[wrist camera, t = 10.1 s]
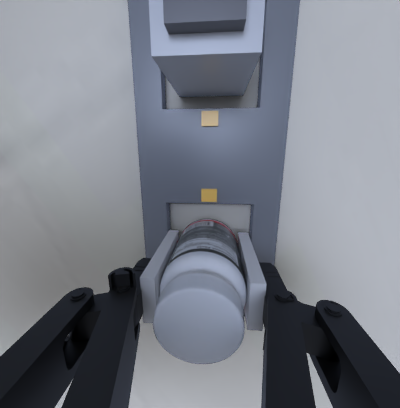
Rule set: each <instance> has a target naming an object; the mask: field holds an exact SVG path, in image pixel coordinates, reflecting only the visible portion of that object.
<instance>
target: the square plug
mask: <svg viewBox="0 0 400 408" xmlns="http://www.w3.org/2000/svg"><path fill="white" fill-rule="evenodd" d="M264 10H265V0H149V17H150V38H151V56H152V58H153V59H154V61H155V62H156V64H157V65H158V67H159V68H160V69H161V71H162V72H163V74H164V75H165V77H166V78H167V79H168V81H169V82H170V84H171V85H172V87H173V88H174V89H175V91H176V92H177V94H178V95H179V97H197V96H243V94H244V92H245V89H246V87H247V85H248V83H249V80H250V78H251V76H252V73H253V71H254V69H255V67H256V64H257V62H258V60H259V57H260V55H261V53H262V41H263V26H264Z"/></svg>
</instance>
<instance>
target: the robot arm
mask: <svg viewBox="0 0 400 408" xmlns="http://www.w3.org/2000/svg"><path fill="white" fill-rule="evenodd" d="M178 241H179V230H169V231H168V233H167V235H166V236H165V238H164V239H163V241H162V243H161V244H160V246H159V247H158V249H157V251H156V252H155V254H154V255H153V257H152V258H143V259H141V260H140V261H138V262H137V264H136V265H135V267H134V268H133V269H132V268H129V267H124V268H119V269H116V270H114V271H112V272H111V273H110V274H109V275H108V279H109V287H110V291H109V292H108V293H103V294H97V295H93V290H92V289H91V288H87V287H84V288H78V289H75V290H73V291H71V292H69V293H68V294H66V295H65V296H64V297H63V298H62V299H61V300H60V301H59V302H58V303H57V304H56V305H55V306H54V307H53V308H51V309H50V310H49V311H48V312H47V313H46V314H45V315H44V316H43V317H42V318H41V319H40V320H39V321H38V322H37V323H36V324H34V325H33V326H32V327H31V328H30V329H29V330H28V331H27V332H26V333H25V334H24V335H23V336H22V337H21V338H20V339H19V340H17V341H16V342H15V343H14V344H13V345H12V346H11V347H10V348H9V349H8V350H7V351H6V352H5V353H4V354H3V355H2V356H0V408H55V406H56V404H57V403H58V401H59V400H60V398H61V397H62V395H63V393H64V392H65V390H66V389H67V387H68V386H69V384H70V382H71V381H72V379H73V381H72V383H71V386H70V388H69V390H68V393H67V395H66V398H65V400H64V403H63V405H62V407H61V408H128V405H129V399H130V392H131V385H132V379H133V372H134V365H135V359H136V352H137V345H138V339H139V332H140V323H139V321H140V319H141V317H142V314H143V322H144V323H153V316H154V312H155V309H156V306H157V303H158V300H159V297H160V283H161V279H162V276H163V274H164V271H165V269H166V267H167V265H168V263H169V261H170V259H171V256H172V254H173V252H174V250H175V248H176V245H177V243H178ZM237 244H238V250H239V255H240V260H241V265H242V269H243V274H244V279H245V284H246V292H247V297H246V304H245V307H244V312H245V318H246V324H247V330H260V331H262V330H263V323H264V327H265V334H264V345H263V350H264V355H263V380H262V404H261V408H316V406H315V401H314V395H313V389H312V383H311V377H310V371H309V365H308V360H307V354H306V353H309V354H310V357H311V359H312V362H313V364H314V366H315V368H316V370H317V373H318V375H319V377H320V379H321V382H322V384H323V386H324V388H325V391H326V393H327V395H328V397H329V399H330V402H331V404H332V406H333V408H400V373H399V372H398V371H397V370H396V368H395V367H394V366H393V365H392V364H391V362H390V361H389V360H388V359H387V357H386V356H385V355H384V354H383V353H382V351H381V350H380V349H379V348H378V346H377V345H376V344H375V343H374V342H373V340H372V339H371V338H370V337H369V335H368V334H367V333H366V332H365V331H364V329H363V328H362V327H361V326H360V324H359V323H358V322H357V321H356V320H355V318H354V317H353V316H352V315H351V313H350V312H349V311H348V310H347V309H346V308H345V307H343V306H342V305H340V304H338V303H336V302H333V301H329V300H320V301H319V302H317V304H316V307H314V306H310V305H307V304H303V303H301V302H299V301H297V298H296V296H295V295H294V294H292V293H291V292H289V291H287V289H286V287H285V285H284V283H283V281H282V279H281V277H280V275H279V273H278V271H277V269H276V267H275V266H274V265H272V264H271V263H264V262H258V259H257V256H256V254H255V251H254V248H253V245H252V243H251V240H250V237H249V234H248V232H238V243H237ZM68 334H69V335H68ZM66 337H67V338H66Z"/></svg>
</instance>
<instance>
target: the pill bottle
mask: <svg viewBox="0 0 400 408" xmlns="http://www.w3.org/2000/svg"><path fill="white" fill-rule="evenodd" d="M246 297H247V292H246V284H245V279H244V274H243V269H242V265H241V260H240V255H239V250H238V244H237V240H236V238H235V236H234V234H233V232H232V231H231V230H230V229H229V228H228V227H227V226H226V225H224V224H223V223H221V222H219V221H216V220H212V219H203V220H198V221H195V222H193V223H192V224H190V225H189V226H188V227H186V229H185V230H184V231H183V232H182V234H181V236H180V239H179V241H178V243H177V245H176V248H175V250H174V252H173V254H172V256H171V259H170V261H169V263H168V265H167V267H166V269H165V271H164V274H163V276H162V279H161V283H160V297H159V300H158V303H157V306H156V309H155V312H154V316H153V329H154V333H155V336H156V338H157V340H158V341H159V343H160V344H161V346H162V347H163V348H164V349H165V350H166V351H167V352H169V353H170V354H171V355H173V356H175V357H176V358H178V359H181V360H183V361H186V362H189V363H195V364H211V363H215V362H219V361H222V360H224V359H226V358H228V357H229V356H231V355H232V354H233V353H234V352H235V351H236V350H237V349H238V348H239V346H240V344H241V343H242V340H243V337H244V328H245V327H244V315H243V309H244V307H245V304H246Z"/></svg>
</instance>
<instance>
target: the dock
mask: <svg viewBox="0 0 400 408" xmlns="http://www.w3.org/2000/svg"><path fill="white" fill-rule="evenodd" d="M299 4H300V0H265V10H264V26H263V41H262V53H261V55H260V70H259V87H258V103H257V108H210V109H166V94H165V75H164V74H163V72H162V71H161V69H160V68H159V67H158V65H157V64H156V62H155V61H154V59H153V58H152V56H151V38H150V17H149V0H128V10H129V24H130V38H131V53H132V67H133V81H134V95H135V109H136V123H137V137H138V151H139V166H140V180H141V194H142V208H143V222H144V236H145V250H146V258H152V257H153V255H154V254H155V252H156V251H157V249H158V247H159V246H160V244H161V243H162V241H163V239H164V238H165V236H166V235H167V233H168V231H169V230H171V228H170V203H211V204H251V216H250V232H249V237H250V240H251V243H252V245H253V248H254V251H255V254H256V256H257V259H258V262H264V263H271V264H272V265H274V262H275V252H276V242H277V231H278V221H279V211H280V200H281V190H282V180H283V169H284V159H285V149H286V138H287V128H288V118H289V107H290V97H291V87H292V76H293V66H294V56H295V45H296V35H297V25H298V14H299ZM243 315H244V316H245V312H244V309H243Z"/></svg>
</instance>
